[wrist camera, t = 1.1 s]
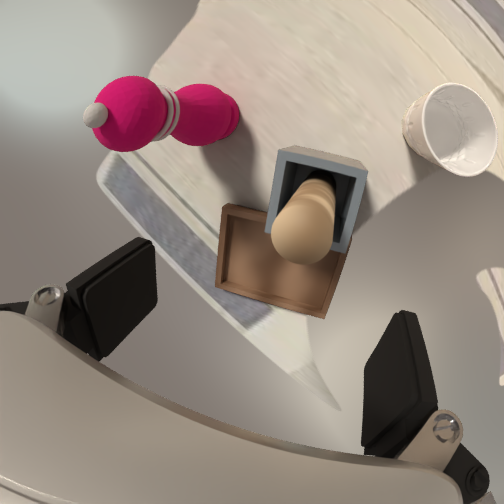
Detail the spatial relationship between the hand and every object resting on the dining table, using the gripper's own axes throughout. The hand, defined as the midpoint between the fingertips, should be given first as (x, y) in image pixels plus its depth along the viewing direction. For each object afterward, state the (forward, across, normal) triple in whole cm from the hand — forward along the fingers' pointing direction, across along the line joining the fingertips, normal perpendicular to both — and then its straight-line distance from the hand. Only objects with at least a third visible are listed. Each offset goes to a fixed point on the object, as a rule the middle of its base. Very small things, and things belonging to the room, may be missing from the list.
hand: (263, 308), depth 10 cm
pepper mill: (+24, +13, -6) cm, 28 cm away
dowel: (+23, -1, 0) cm, 23 cm away
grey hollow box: (+24, -1, 0) cm, 24 cm away
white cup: (+24, -12, -10) cm, 29 cm away
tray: (+24, +2, +11) cm, 26 cm away
